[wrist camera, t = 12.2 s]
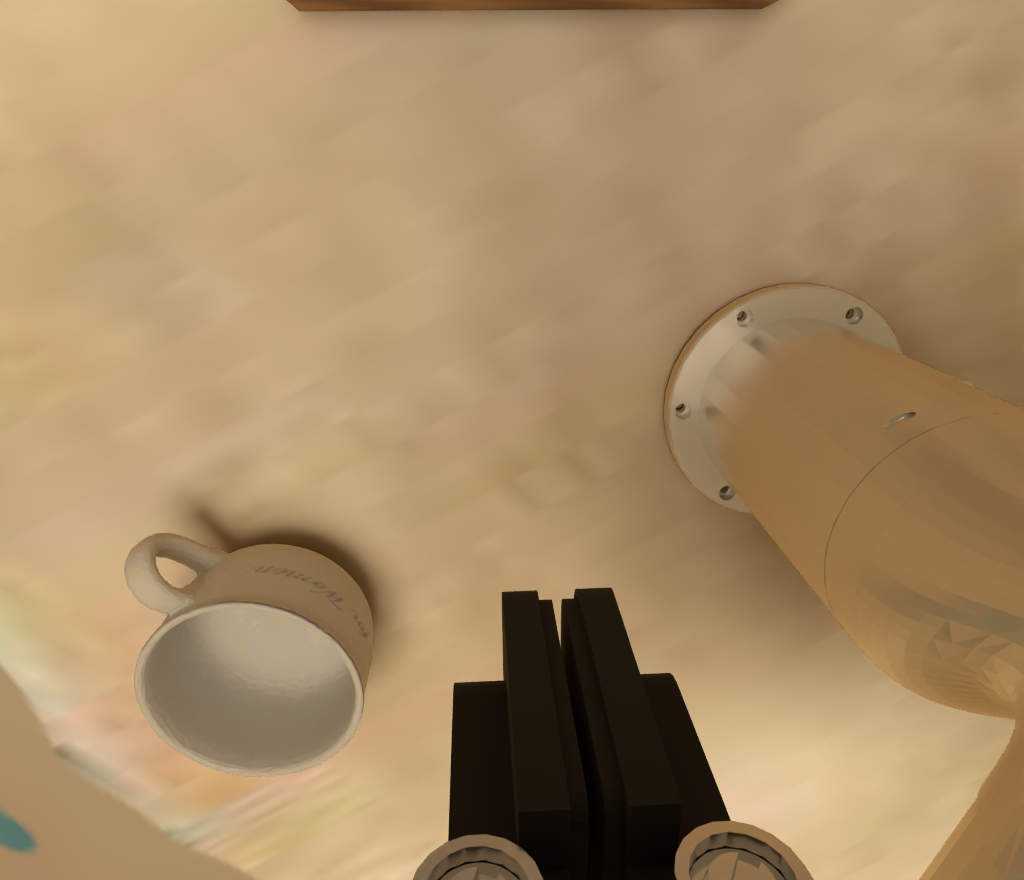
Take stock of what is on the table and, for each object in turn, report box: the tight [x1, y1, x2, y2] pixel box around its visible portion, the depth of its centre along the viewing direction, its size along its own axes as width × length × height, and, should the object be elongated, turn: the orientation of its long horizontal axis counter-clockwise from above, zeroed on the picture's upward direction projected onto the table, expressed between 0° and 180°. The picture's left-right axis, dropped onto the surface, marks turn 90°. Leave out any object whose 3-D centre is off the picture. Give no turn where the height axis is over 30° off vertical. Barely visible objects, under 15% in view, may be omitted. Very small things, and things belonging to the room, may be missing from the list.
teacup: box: [124, 533, 374, 777], centre depth 38 cm, size 14×11×8 cm
